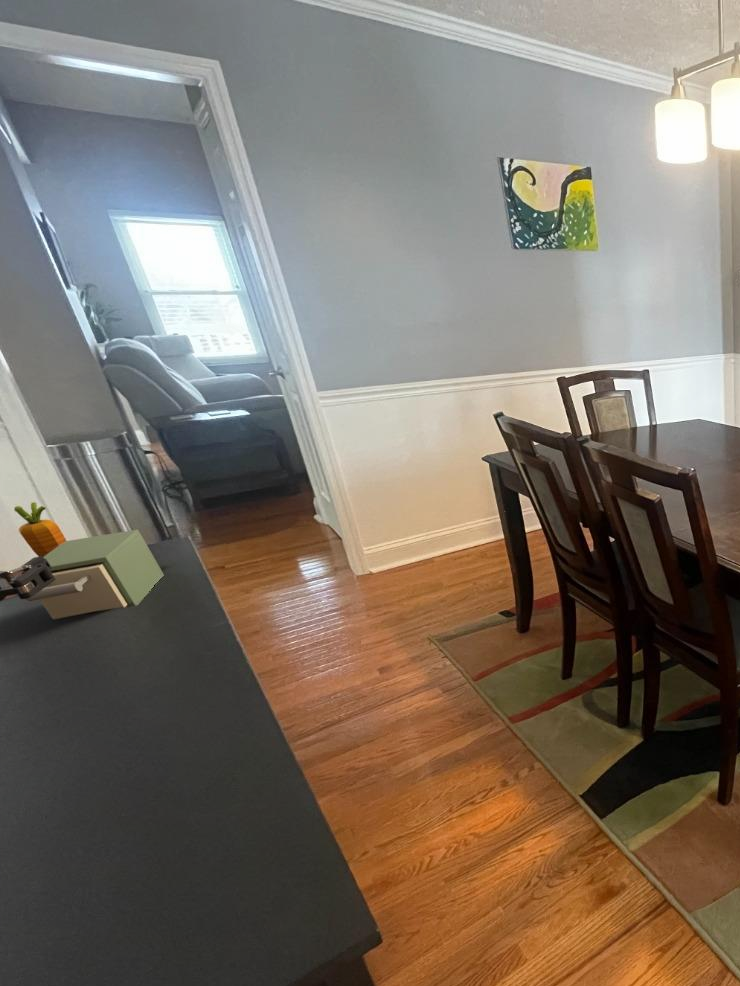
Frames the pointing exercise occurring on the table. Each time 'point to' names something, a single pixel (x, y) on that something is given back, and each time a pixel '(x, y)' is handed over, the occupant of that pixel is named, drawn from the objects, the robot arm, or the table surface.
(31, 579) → the robot arm
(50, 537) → the carrot
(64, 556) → the cabinet
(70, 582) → the drawer
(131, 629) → the table surface
